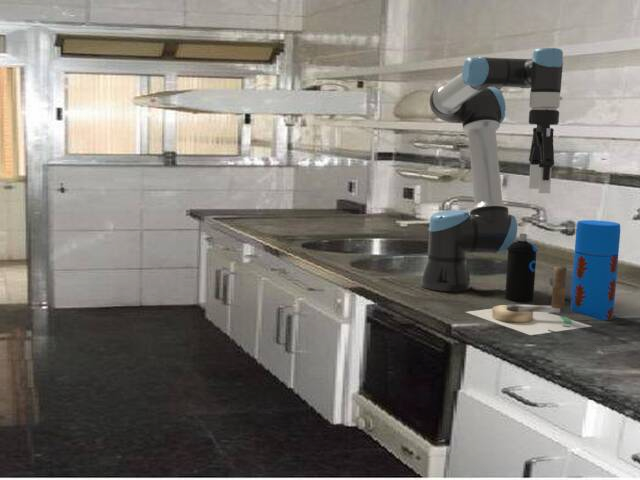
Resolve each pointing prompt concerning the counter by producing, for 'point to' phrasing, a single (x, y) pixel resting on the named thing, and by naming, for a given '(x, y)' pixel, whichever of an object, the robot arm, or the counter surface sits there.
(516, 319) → the crank
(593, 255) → the thermos
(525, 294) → the aerosol can
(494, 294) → the counter surface
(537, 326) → the scale board
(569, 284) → the teacup
